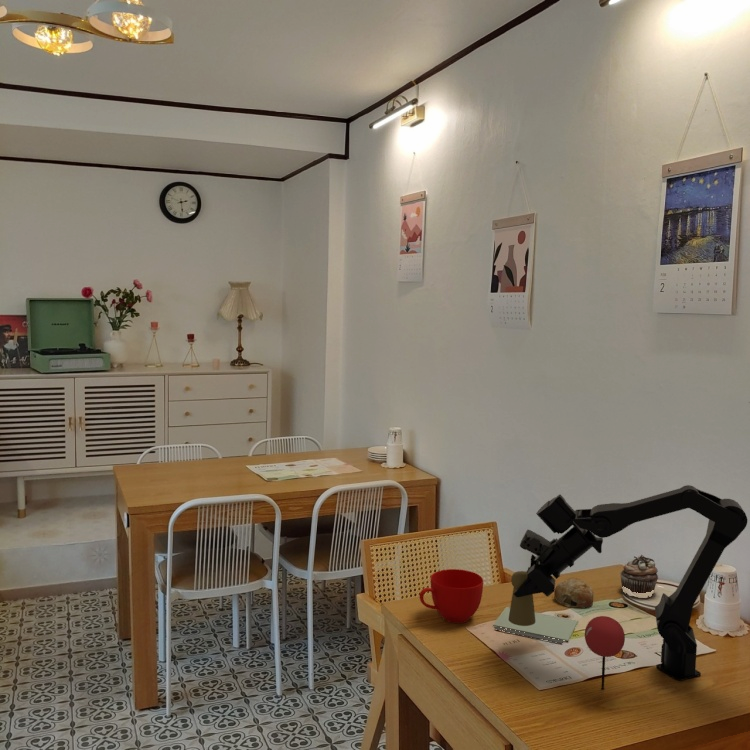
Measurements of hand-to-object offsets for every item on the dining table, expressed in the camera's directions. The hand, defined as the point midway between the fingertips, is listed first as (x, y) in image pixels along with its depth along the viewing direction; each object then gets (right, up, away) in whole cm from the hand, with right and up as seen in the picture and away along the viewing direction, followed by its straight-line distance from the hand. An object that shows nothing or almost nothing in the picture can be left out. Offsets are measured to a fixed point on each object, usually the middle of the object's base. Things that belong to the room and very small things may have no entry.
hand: (516, 591), depth 169 cm
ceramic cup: (-14, -12, +16) cm, 24 cm away
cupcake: (+39, -11, +35) cm, 54 cm away
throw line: (+4, -13, +7) cm, 15 cm away
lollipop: (+14, -15, -16) cm, 27 cm away
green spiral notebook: (+7, -12, +14) cm, 19 cm away
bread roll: (+20, -11, +29) cm, 37 cm away
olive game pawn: (+1, -7, 0) cm, 7 cm away
